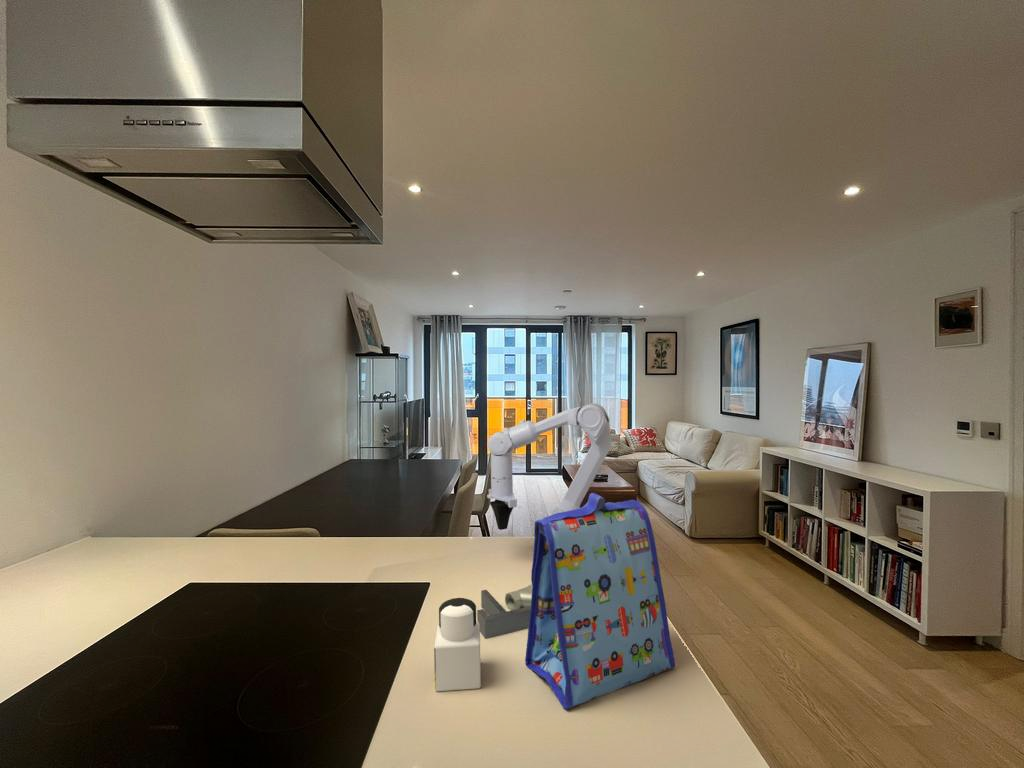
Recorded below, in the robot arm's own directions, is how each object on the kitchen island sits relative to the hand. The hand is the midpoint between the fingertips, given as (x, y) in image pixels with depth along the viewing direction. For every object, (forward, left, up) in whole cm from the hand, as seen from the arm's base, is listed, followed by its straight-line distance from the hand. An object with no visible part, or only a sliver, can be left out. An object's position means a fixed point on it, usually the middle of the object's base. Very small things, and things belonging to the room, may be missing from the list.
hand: (502, 528), depth 122 cm
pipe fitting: (+4, +24, -10) cm, 26 cm away
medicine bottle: (+25, +40, -10) cm, 48 cm away
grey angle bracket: (+6, +25, -10) cm, 28 cm away
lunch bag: (+3, +48, -10) cm, 49 cm away
